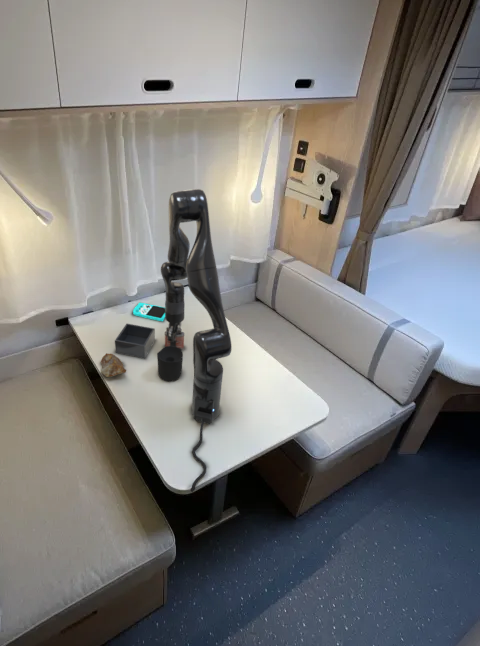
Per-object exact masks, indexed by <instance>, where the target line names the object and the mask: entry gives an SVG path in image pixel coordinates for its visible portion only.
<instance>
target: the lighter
mask: <svg viewBox="0 0 480 646" xmlns="http://www.w3.org/2000/svg"><path fill="white" fill-rule="evenodd" d="M167 331H168V332H169V327H166V329H165V331H164V347H166V346H170V341H168V338H167ZM174 333H176V332H174ZM176 347H178V348H179V349H181V350H182V351H184V350H185V332H184V331H183V330H182V327H181V328H178V334H177V336H176Z"/></svg>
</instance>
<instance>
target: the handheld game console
mask: <svg viewBox="0 0 480 646" xmlns="http://www.w3.org/2000/svg"><path fill="white" fill-rule="evenodd" d="M132 315H133V316H136V317H139V318H145V319H148V320H149V319H150V320H154V321H158V322H164V321H165V320H166V319H165V306H159V305H154V304H151V303H150V304H149V303H145V302H138V303H137V305H136V306H135V307H134V308H133V310H132Z"/></svg>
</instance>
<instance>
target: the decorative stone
mask: <svg viewBox="0 0 480 646" xmlns="http://www.w3.org/2000/svg"><path fill="white" fill-rule="evenodd" d="M100 364H101V365H102V366H101V367H102V369H100V373H101V374H102V375H104V377H106V378H113V377H115V376H117V375H120V374H121V375H122V374H125V373H126V372H127V369H125V367H124V363H123V362H122V360H121V359H120V358H119V357H118V356H116V355H115V354H113V353H107V352H106V353H105V354H104V355H103V356H102V357H101V360H100Z"/></svg>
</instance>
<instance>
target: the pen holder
mask: <svg viewBox="0 0 480 646" xmlns="http://www.w3.org/2000/svg"><path fill="white" fill-rule="evenodd" d="M156 357H157V373H158V376H159V378H160V379H161V380H163V381H164V382H169V383H170V382H176V381H178V380H179V379H180V378H181V377H182V371H183V360H184V359H183V358H184V351H183V350H181V349H179V348H178V347H175V346H166V347H165V346H164V347H163V348H161V349H160V350H159V351H158V352H157V353H156Z"/></svg>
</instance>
